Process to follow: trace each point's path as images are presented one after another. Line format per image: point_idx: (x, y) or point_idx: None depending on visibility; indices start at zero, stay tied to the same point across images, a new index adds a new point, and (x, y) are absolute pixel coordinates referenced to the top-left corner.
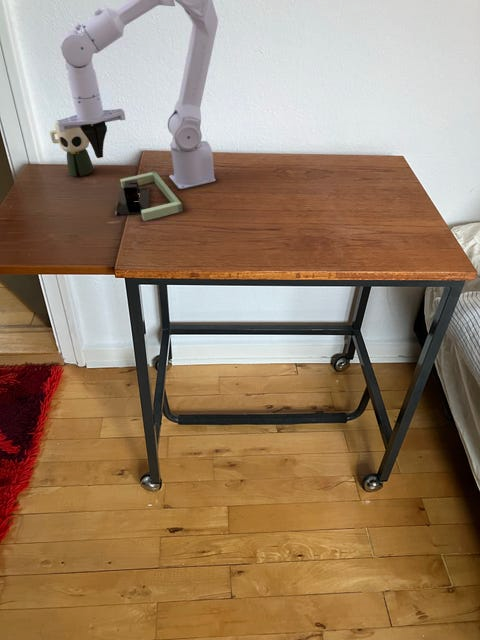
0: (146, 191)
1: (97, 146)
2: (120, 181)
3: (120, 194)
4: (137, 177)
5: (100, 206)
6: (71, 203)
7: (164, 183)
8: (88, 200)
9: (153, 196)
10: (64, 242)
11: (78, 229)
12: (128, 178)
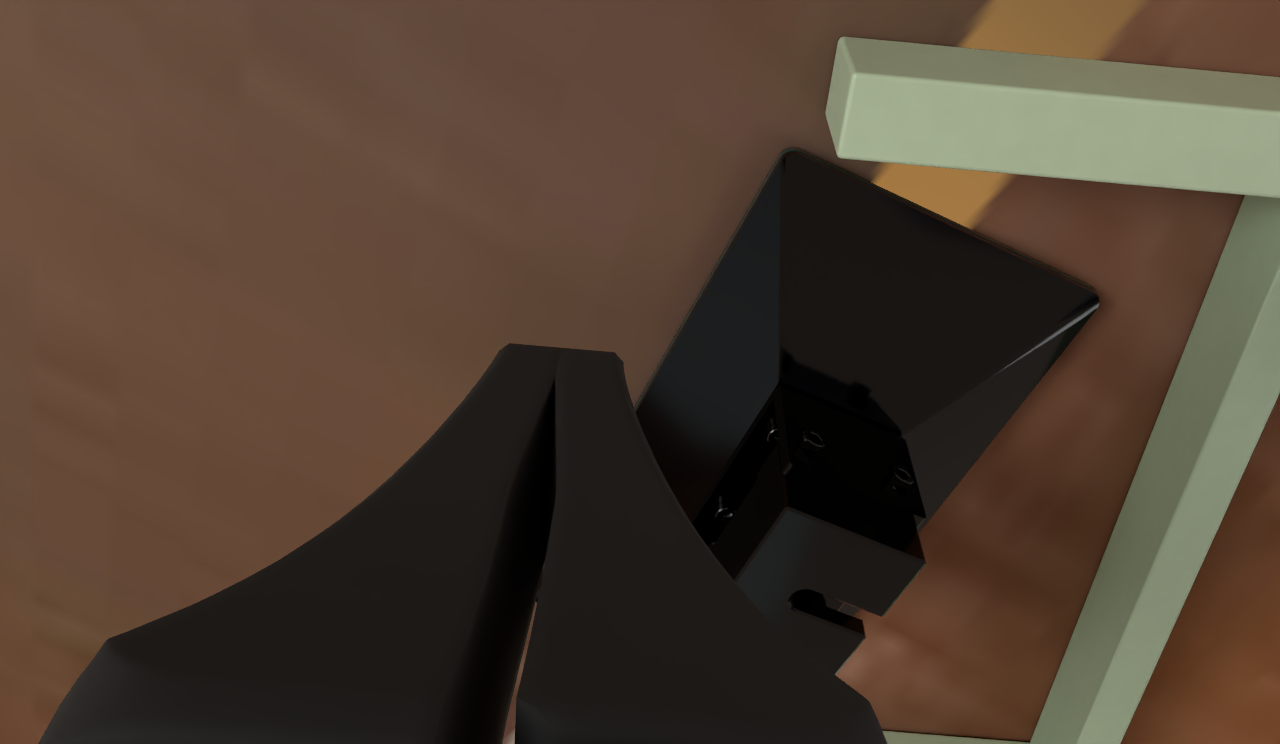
0: (1005, 383)
1: (509, 698)
2: (846, 71)
3: (724, 274)
4: (1080, 168)
5: (439, 357)
6: (124, 109)
7: (1228, 489)
8: (339, 153)
9: (1018, 456)
10: (34, 710)
11: (160, 611)
12: (963, 122)
